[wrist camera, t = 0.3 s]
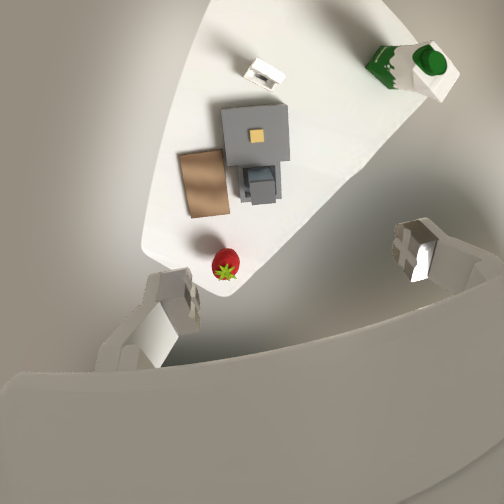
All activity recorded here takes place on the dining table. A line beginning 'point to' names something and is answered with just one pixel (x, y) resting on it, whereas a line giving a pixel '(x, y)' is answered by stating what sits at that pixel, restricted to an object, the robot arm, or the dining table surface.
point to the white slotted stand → (264, 74)
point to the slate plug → (261, 186)
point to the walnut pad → (205, 183)
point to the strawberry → (225, 264)
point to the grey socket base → (256, 140)
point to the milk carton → (415, 69)
